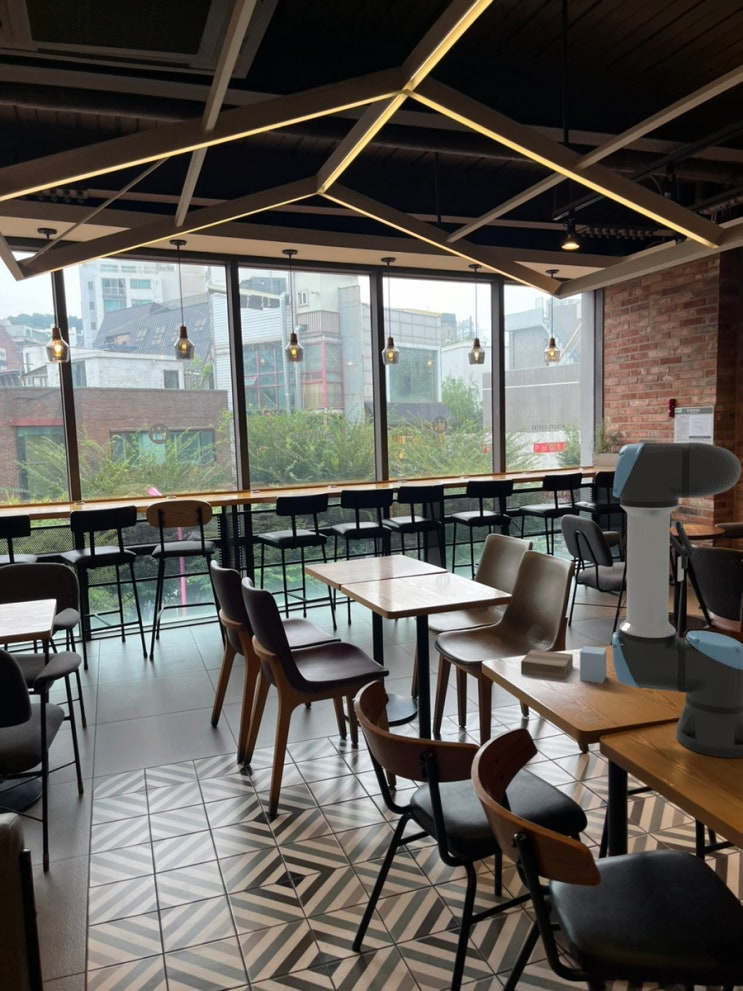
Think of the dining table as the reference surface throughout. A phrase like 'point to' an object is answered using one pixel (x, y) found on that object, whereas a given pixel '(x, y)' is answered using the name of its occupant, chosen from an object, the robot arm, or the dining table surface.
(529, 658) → the walnut block
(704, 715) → the robot arm
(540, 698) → the dining table surface
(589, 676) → the slate block
